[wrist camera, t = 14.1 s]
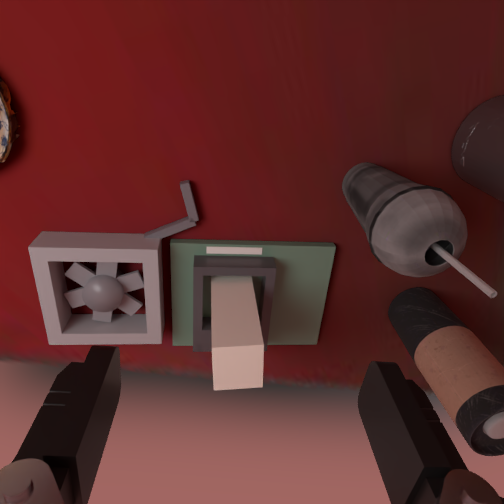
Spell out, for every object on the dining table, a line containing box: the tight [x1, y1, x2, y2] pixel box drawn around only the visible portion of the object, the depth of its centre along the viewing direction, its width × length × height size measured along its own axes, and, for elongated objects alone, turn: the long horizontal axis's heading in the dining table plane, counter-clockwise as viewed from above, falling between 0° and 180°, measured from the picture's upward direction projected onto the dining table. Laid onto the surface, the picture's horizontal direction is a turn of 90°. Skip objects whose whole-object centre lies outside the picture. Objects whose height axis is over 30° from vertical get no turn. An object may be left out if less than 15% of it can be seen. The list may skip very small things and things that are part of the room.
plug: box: [211, 276, 264, 390], centre depth 40 cm, size 4×6×12 cm
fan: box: [28, 180, 199, 345], centre depth 41 cm, size 16×18×4 cm
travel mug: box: [388, 287, 504, 456], centre depth 42 cm, size 7×7×18 cm
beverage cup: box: [342, 163, 497, 298], centre depth 32 cm, size 7×7×20 cm
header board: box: [170, 239, 336, 352], centre depth 45 cm, size 18×14×4 cm
